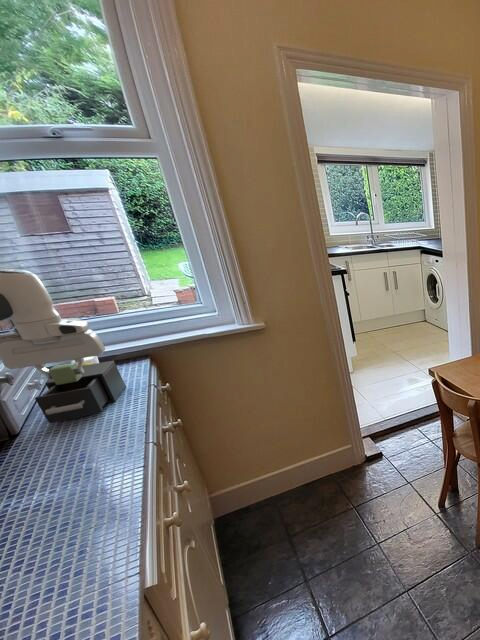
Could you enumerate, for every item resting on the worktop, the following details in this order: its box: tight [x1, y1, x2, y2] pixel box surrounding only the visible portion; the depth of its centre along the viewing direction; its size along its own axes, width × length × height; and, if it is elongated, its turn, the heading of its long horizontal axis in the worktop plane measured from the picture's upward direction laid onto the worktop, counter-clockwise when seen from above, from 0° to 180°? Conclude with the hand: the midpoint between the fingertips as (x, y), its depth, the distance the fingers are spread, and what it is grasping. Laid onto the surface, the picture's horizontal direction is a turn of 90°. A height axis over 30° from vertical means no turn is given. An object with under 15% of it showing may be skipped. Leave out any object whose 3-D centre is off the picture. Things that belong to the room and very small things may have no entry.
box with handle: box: [44, 360, 127, 405], centre depth 129 cm, size 14×13×10 cm
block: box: [48, 362, 82, 385], centre depth 118 cm, size 4×4×4 cm
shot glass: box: [70, 356, 100, 365], centre depth 148 cm, size 7×7×7 cm
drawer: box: [34, 376, 110, 424], centre depth 119 cm, size 17×11×8 cm
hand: (67, 375), depth 118 cm, fingers closed on block, 4 cm apart
